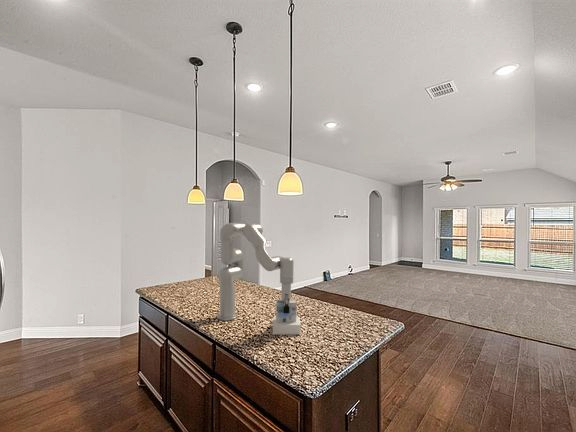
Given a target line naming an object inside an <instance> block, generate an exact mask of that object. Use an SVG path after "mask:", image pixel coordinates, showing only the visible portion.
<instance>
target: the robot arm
mask: <svg viewBox="0 0 576 432" xmlns="http://www.w3.org/2000/svg"><path fill="white" fill-rule="evenodd" d="M219 231H220V232H219V236H220V260H221V261H220V262H221V263H222V264H223V265H225V267H223V268H221V269H220V270H219V272H218V282H219V313H218V314H217V317H216V318H217V320H219V321H231V320H234V319H237V318H238V316H239V315H238V313H237V312H236V285H235V283H234V281H237V280H240V279H242V277H243V276H244V275H243V274H244V254H243V251H242V250H241V249H239V248H236V247H235V240H234V238H233V237H240V236H243V237H245V239H246V240H247V241H248V242H249V244H250V245H251V246H252V247H253V249H254V252H255V253H254V254H255V257H256V260H257V261H258V263H259V264H260V265H261V267H262V268H263V269H264V270H266V271H267V272H273V271H277V270H279V283H280V284H281V297H280V298H281V299H280V300H281V301H282V302H283V301H284V310H283V313H284V314H289V302H290V300H291V299H292V298H291V296H292V295H291V294H292V284H293V283H294V264H295V263H294V259H293V258H292V257H283V256H280V255H276V256H270V255H269V254H268V252H267V251H266V249H265V246H266V244H267V240H266V238H265V236H264V235H263V232H264V231H263V227H262V226H261V224H259V223H250V222H228V223H226V224H224V225H222V227H221V228H220V230H219Z"/></svg>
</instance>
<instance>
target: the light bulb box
mask: <svg viewBox="0 0 576 432" xmlns="http://www.w3.org/2000/svg"><path fill="white" fill-rule="evenodd" d="M275 305H276V314H275V315H276V316H275V317H276V319H277V321H278V323H283V322H296V317H297V301H296V300H295V299H293V298H290V302H289V314H284V313H283V310H284V301H283V302H282V301H281V299H278V300H276V304H275Z"/></svg>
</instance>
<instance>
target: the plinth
mask: <svg viewBox="0 0 576 432" xmlns="http://www.w3.org/2000/svg"><path fill="white" fill-rule="evenodd" d="M300 319H301V318H300V316H296V322H283V323H278V321H277V319H276V316H273V321H272V335H301V320H300Z"/></svg>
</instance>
